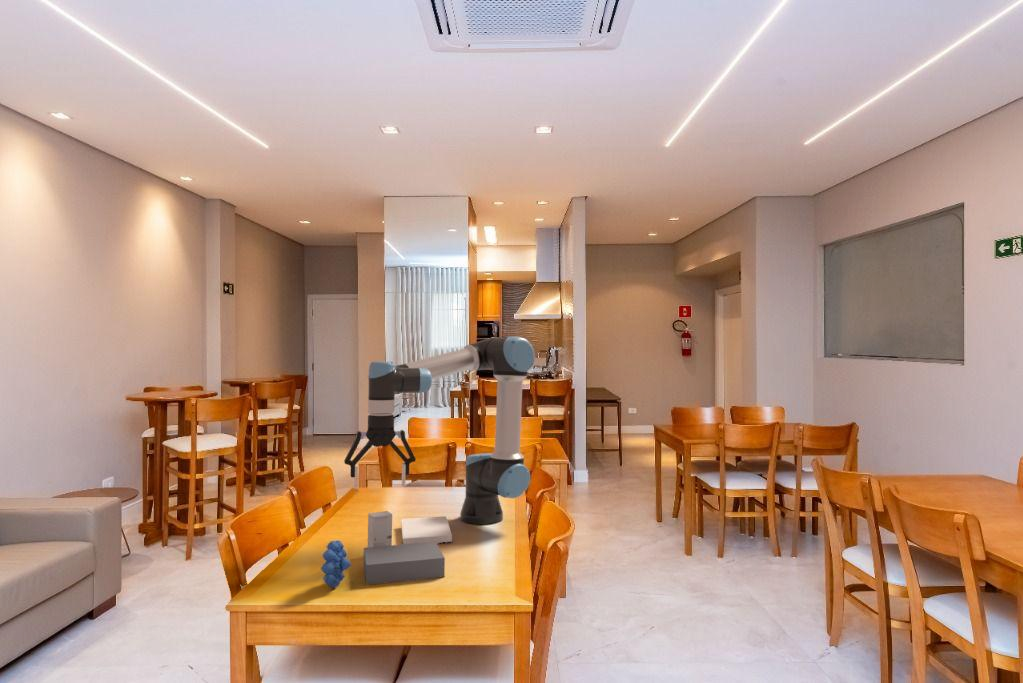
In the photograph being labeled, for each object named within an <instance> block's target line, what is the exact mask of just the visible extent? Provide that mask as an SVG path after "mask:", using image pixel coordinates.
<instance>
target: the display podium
mask: <svg viewBox="0 0 1023 683" xmlns="http://www.w3.org/2000/svg"><path fill="white" fill-rule="evenodd" d="M438 545H439V544H437V543H436V542H429V543H417V544H405V545H403V544H396V545H395V544H394V545H393V544H392V546H381V547H369V548H368V547H363V566H364V567H363V570H364V571H363V572H365V573H364V578H366V579H365V584H370V585H374V584H373V583H380V584H385V583H384V582H390V583H397V582H396V581H400V582H408V581H407V580H410V581H417V580H416V579H420V580H427V578H430V579H437V578H436V577H440V578H445V570H446V569H445V568H446V567H445V562H446V560H445V556H444V555H443V552H442V551H441V549H440V547H439V546H438Z"/></svg>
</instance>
